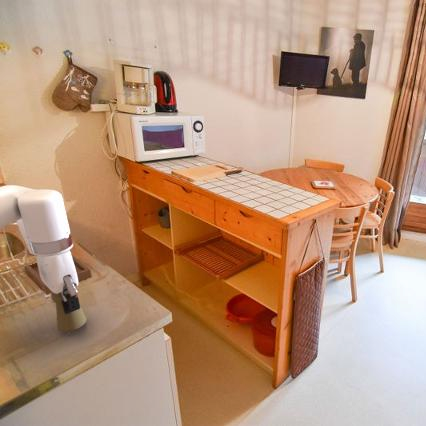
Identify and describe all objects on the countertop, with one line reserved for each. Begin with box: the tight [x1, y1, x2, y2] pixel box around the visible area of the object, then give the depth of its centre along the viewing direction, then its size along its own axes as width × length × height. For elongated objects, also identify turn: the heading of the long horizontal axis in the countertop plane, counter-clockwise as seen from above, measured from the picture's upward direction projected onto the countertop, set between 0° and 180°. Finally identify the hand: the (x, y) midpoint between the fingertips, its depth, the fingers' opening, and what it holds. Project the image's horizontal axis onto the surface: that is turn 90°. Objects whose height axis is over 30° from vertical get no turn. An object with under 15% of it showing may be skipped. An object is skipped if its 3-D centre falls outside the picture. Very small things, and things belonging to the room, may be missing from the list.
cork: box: [50, 286, 87, 333], centre depth 80 cm, size 6×6×11 cm
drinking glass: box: [15, 219, 33, 255], centre depth 112 cm, size 7×7×15 cm
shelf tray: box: [23, 253, 93, 295], centre depth 103 cm, size 18×12×3 cm, turn 55°
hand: (67, 305), depth 80 cm, fingers closed on cork, 5 cm apart
